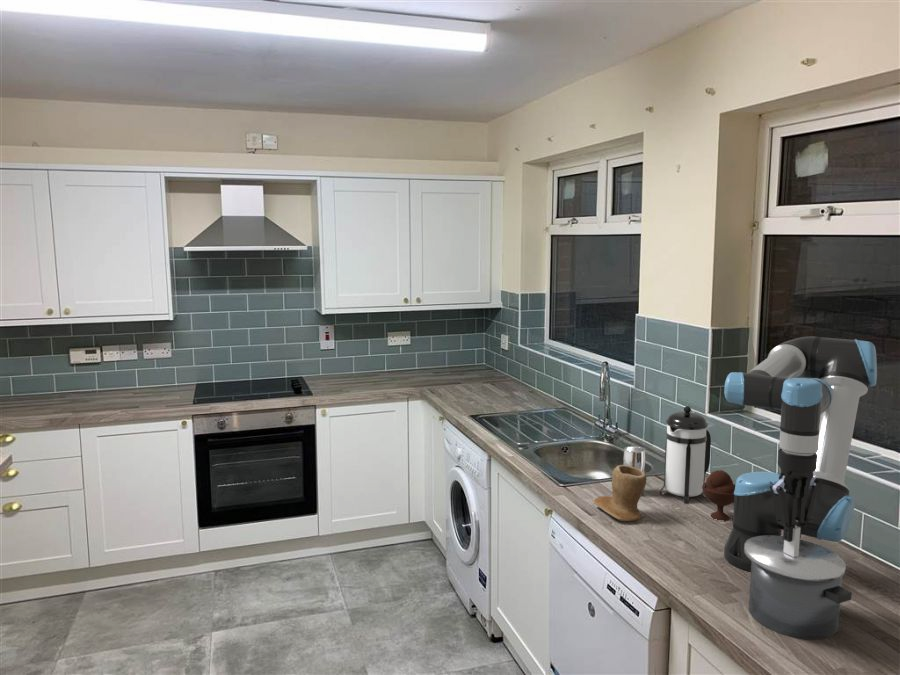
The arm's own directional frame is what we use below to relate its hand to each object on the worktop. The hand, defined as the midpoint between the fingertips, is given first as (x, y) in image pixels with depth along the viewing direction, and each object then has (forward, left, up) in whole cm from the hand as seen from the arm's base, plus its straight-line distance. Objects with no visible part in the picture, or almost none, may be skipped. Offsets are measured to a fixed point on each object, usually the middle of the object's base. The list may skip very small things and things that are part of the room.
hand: (790, 553), depth 151 cm
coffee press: (-69, -26, -15) cm, 76 cm away
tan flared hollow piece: (-45, -43, -16) cm, 64 cm away
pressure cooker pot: (-2, +2, -15) cm, 15 cm away
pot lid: (-1, +1, -1) cm, 2 cm away
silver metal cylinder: (-64, -42, -15) cm, 78 cm away
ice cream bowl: (-53, -15, -15) cm, 57 cm away
